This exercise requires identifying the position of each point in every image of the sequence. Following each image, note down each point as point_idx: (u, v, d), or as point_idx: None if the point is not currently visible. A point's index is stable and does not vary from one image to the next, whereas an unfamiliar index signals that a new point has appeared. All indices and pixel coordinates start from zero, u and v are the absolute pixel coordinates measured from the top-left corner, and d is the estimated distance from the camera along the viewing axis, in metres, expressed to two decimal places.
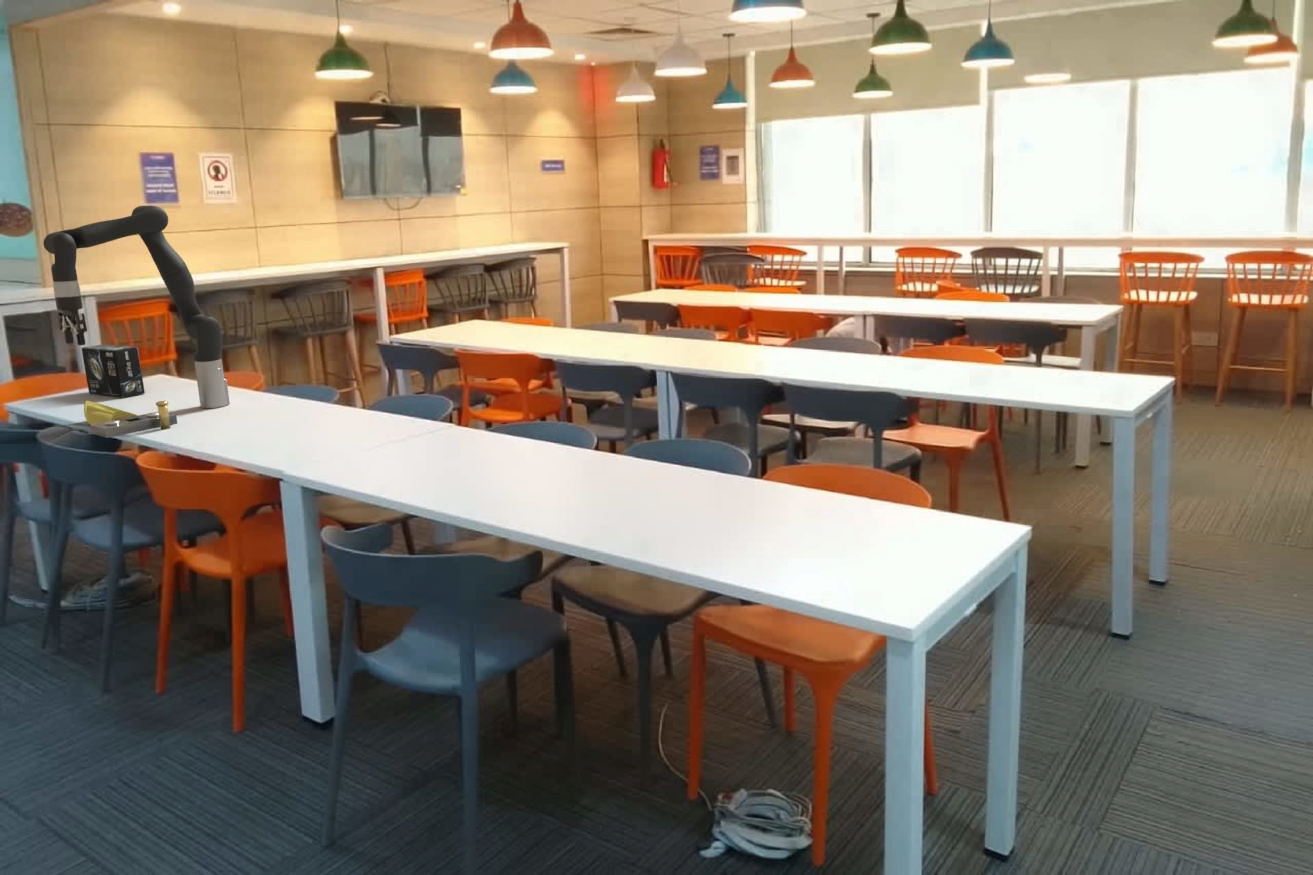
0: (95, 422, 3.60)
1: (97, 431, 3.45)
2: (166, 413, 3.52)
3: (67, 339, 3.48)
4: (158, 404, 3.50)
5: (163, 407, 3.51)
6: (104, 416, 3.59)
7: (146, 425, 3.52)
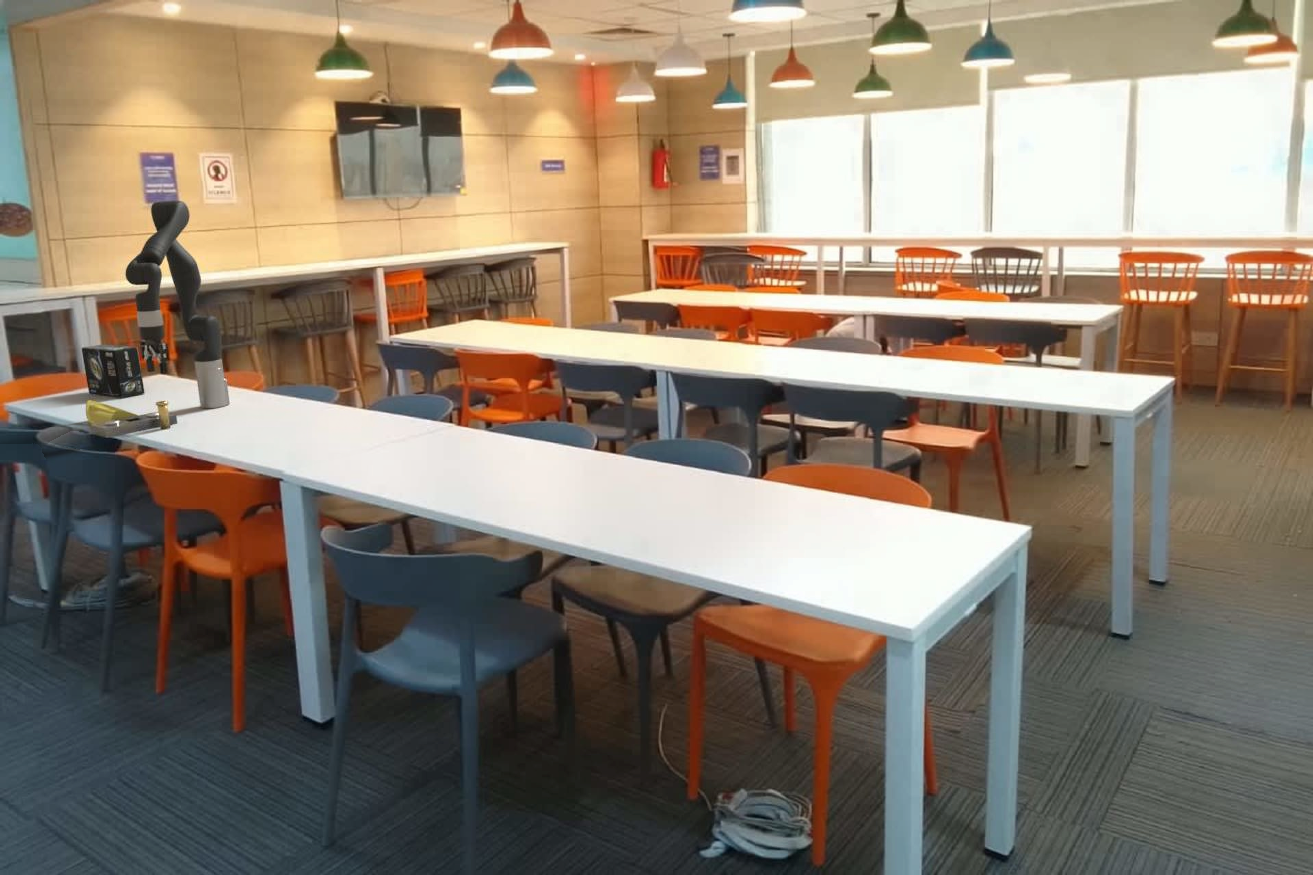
0: (96, 422, 3.60)
1: (97, 431, 3.45)
2: (166, 413, 3.52)
3: (149, 368, 3.51)
4: (158, 404, 3.50)
5: (163, 407, 3.51)
6: (104, 416, 3.60)
7: (146, 425, 3.52)
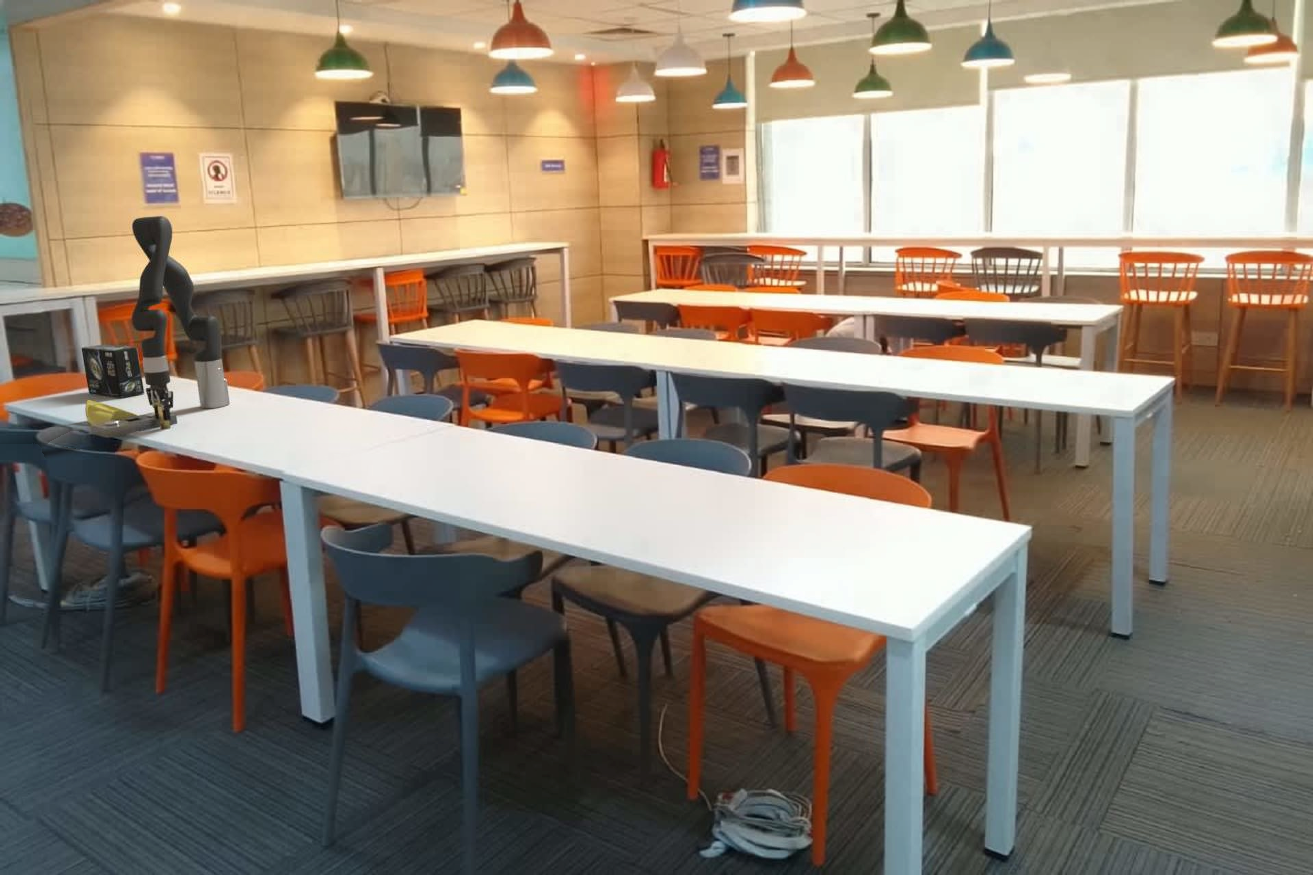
0: (95, 422, 3.61)
1: (97, 431, 3.45)
2: None
3: (157, 414, 3.54)
4: (158, 404, 3.50)
5: None
6: (104, 416, 3.60)
7: (146, 425, 3.52)
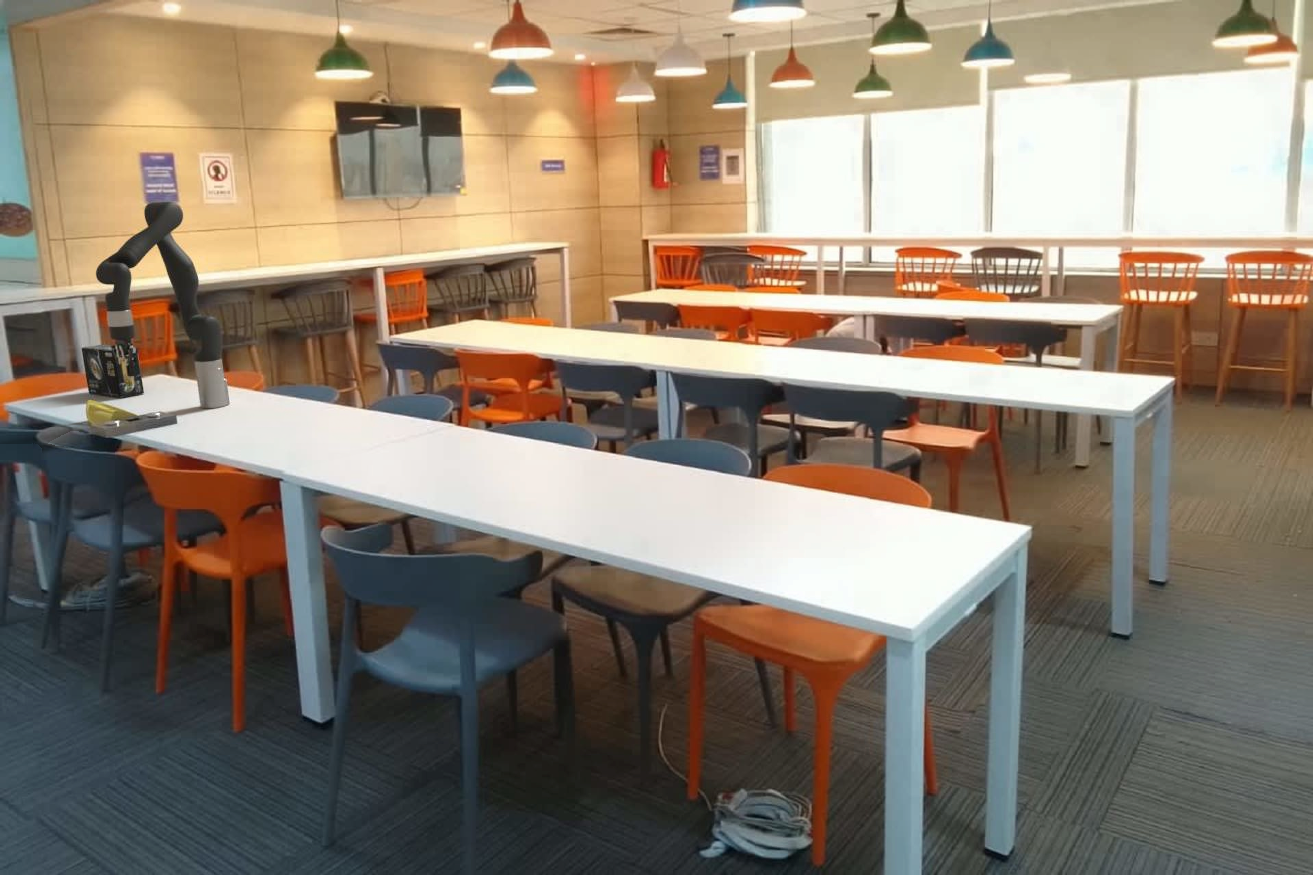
0: (95, 421, 3.61)
1: (97, 431, 3.45)
2: None
3: None
4: (122, 359, 3.47)
5: None
6: (104, 416, 3.60)
7: (146, 425, 3.52)
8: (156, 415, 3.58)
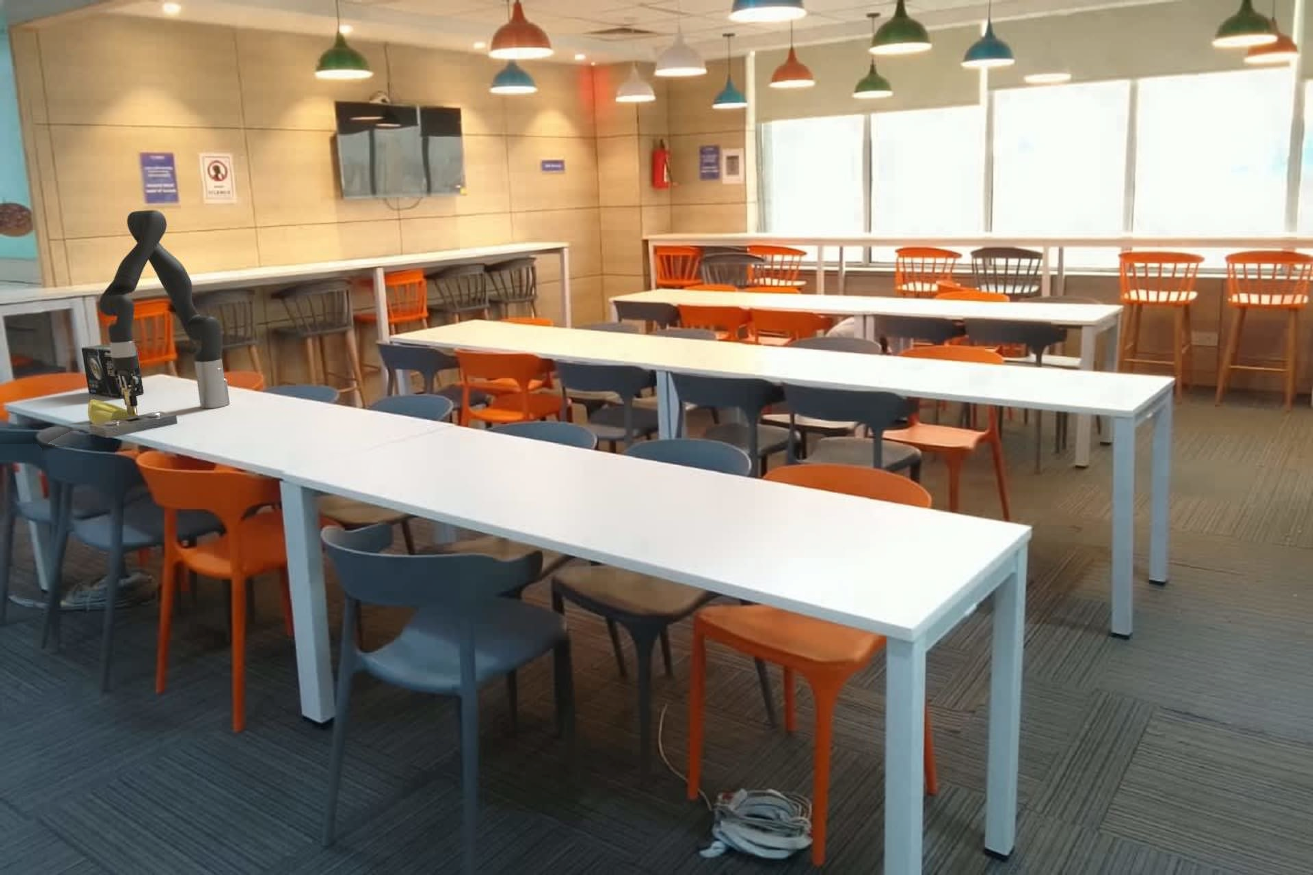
0: (96, 421, 3.61)
1: (97, 431, 3.45)
2: None
3: None
4: (124, 389, 3.50)
5: None
6: (105, 415, 3.60)
7: (146, 425, 3.52)
8: (156, 415, 3.58)
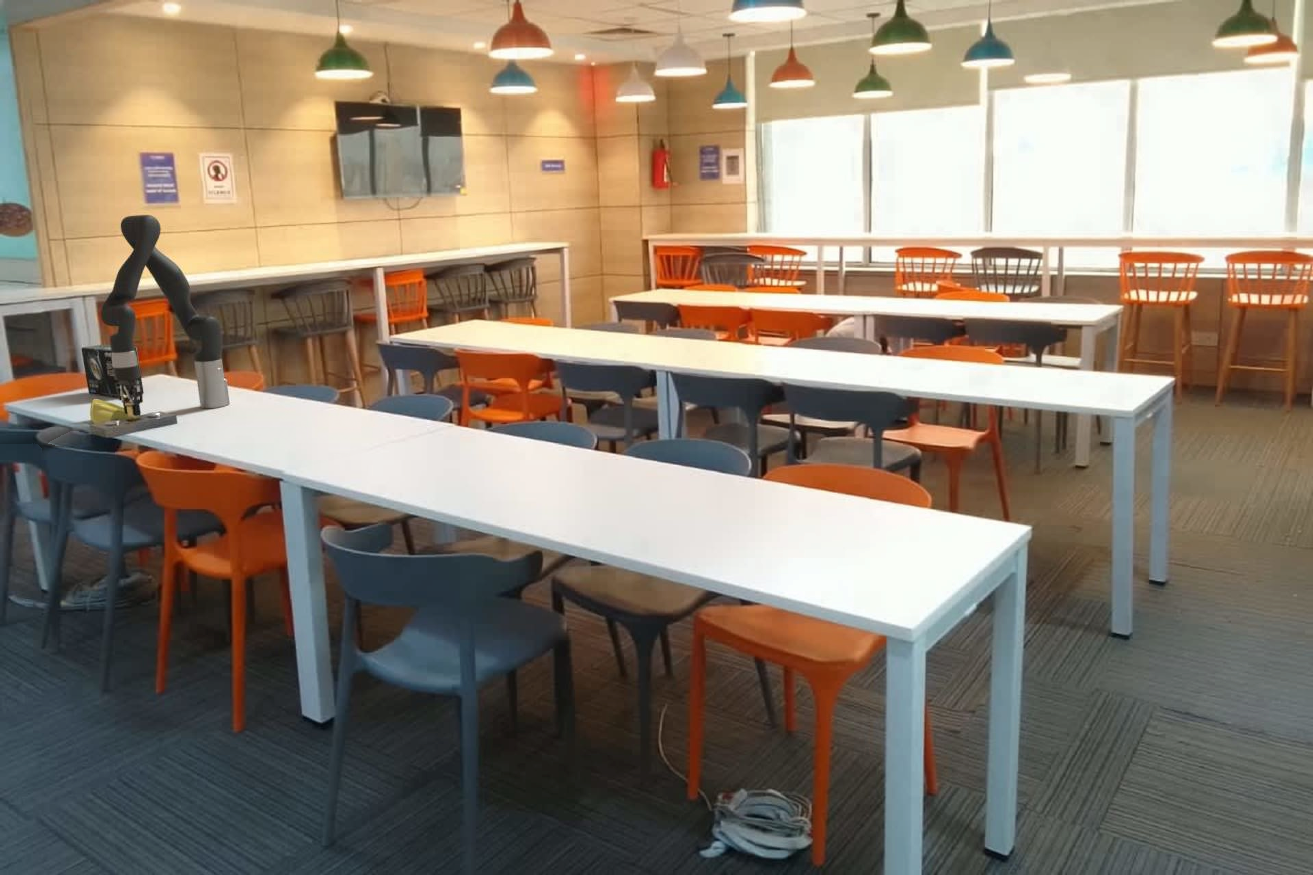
0: (97, 421, 3.62)
1: (97, 431, 3.45)
2: None
3: (126, 409, 3.54)
4: (127, 404, 3.51)
5: None
6: (106, 415, 3.61)
7: (146, 425, 3.52)
8: (156, 415, 3.58)
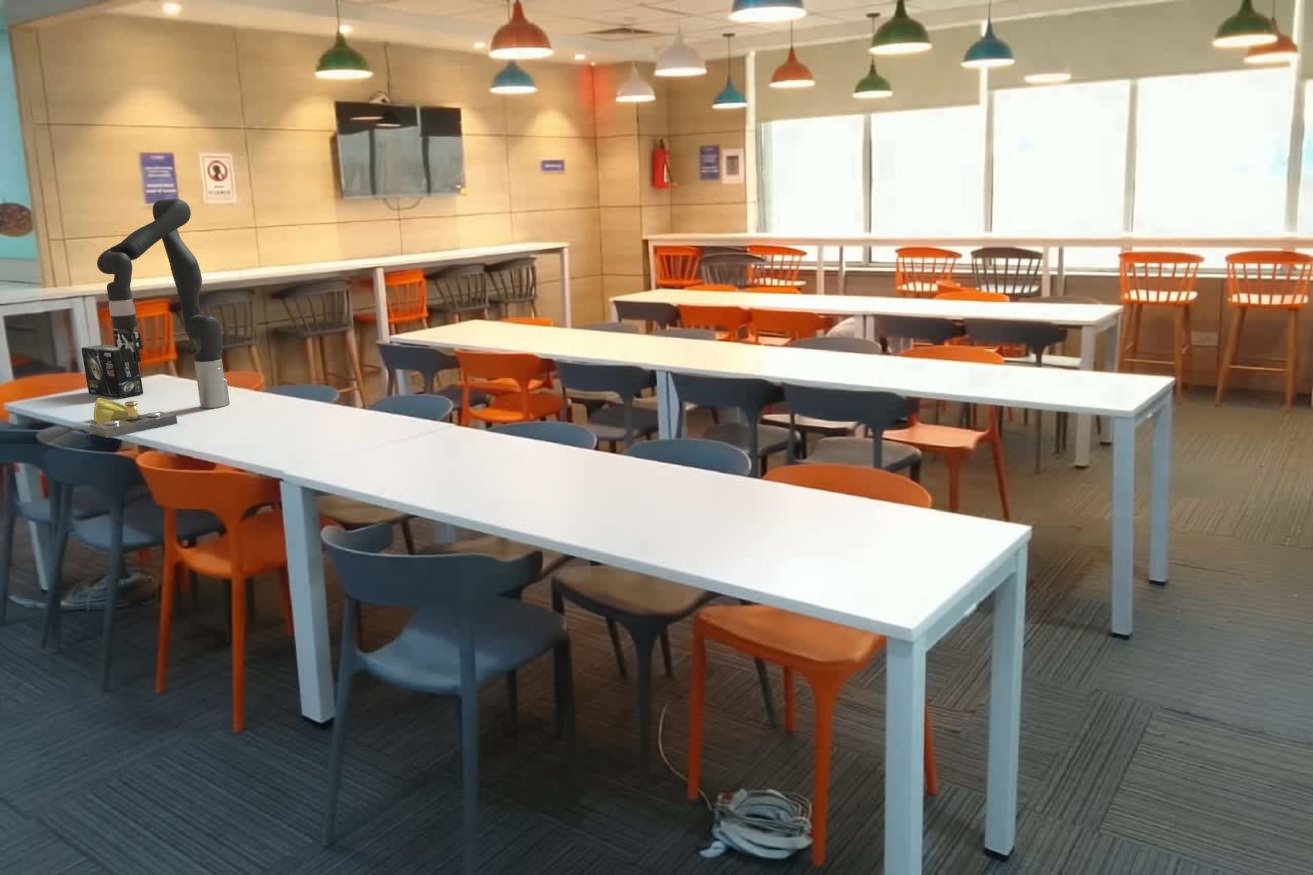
0: (100, 420, 3.63)
1: (97, 431, 3.45)
2: (135, 413, 3.53)
3: (122, 356, 3.54)
4: (127, 404, 3.51)
5: (132, 408, 3.52)
6: (107, 414, 3.62)
7: (146, 425, 3.52)
8: (156, 415, 3.58)
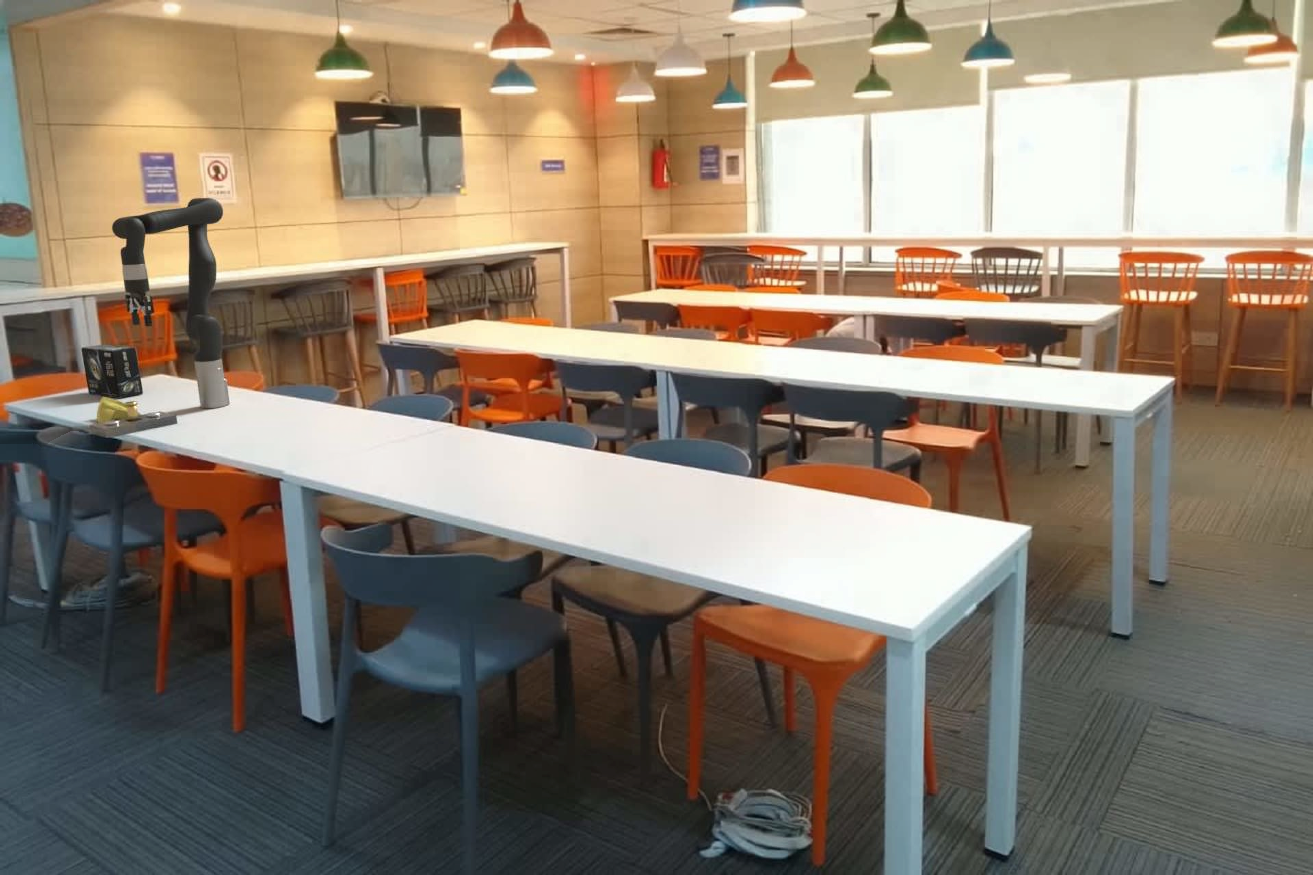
0: (102, 419, 3.64)
1: (97, 431, 3.45)
2: (135, 413, 3.53)
3: (134, 321, 3.61)
4: (127, 404, 3.51)
5: (132, 408, 3.52)
6: (109, 414, 3.62)
7: (146, 425, 3.52)
8: (156, 415, 3.58)
